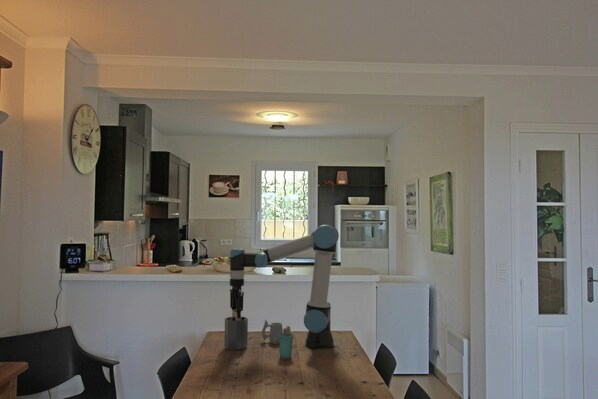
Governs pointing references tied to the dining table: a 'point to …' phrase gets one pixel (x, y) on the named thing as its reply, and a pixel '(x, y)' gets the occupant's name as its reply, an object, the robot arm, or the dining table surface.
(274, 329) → the mug
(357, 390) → the dining table surface
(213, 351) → the dining table surface
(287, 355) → the cup
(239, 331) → the press body
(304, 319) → the robot arm
